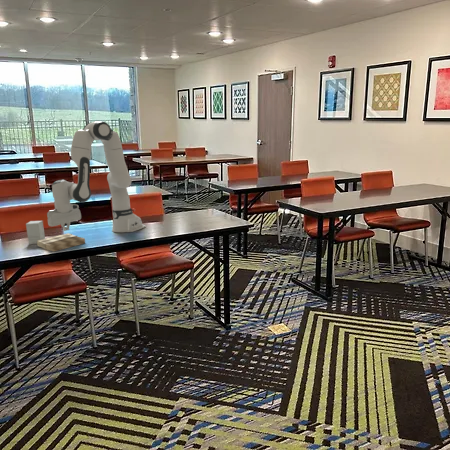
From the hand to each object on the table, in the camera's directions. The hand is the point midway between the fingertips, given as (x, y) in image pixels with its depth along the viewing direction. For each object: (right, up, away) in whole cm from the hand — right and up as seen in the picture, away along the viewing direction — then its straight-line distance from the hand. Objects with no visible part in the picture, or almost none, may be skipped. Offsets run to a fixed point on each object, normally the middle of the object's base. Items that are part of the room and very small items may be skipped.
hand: (66, 230), depth 250 cm
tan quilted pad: (-4, -8, -4) cm, 9 cm away
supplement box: (-18, -8, +1) cm, 20 cm away
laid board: (+3, -9, -9) cm, 13 cm away
